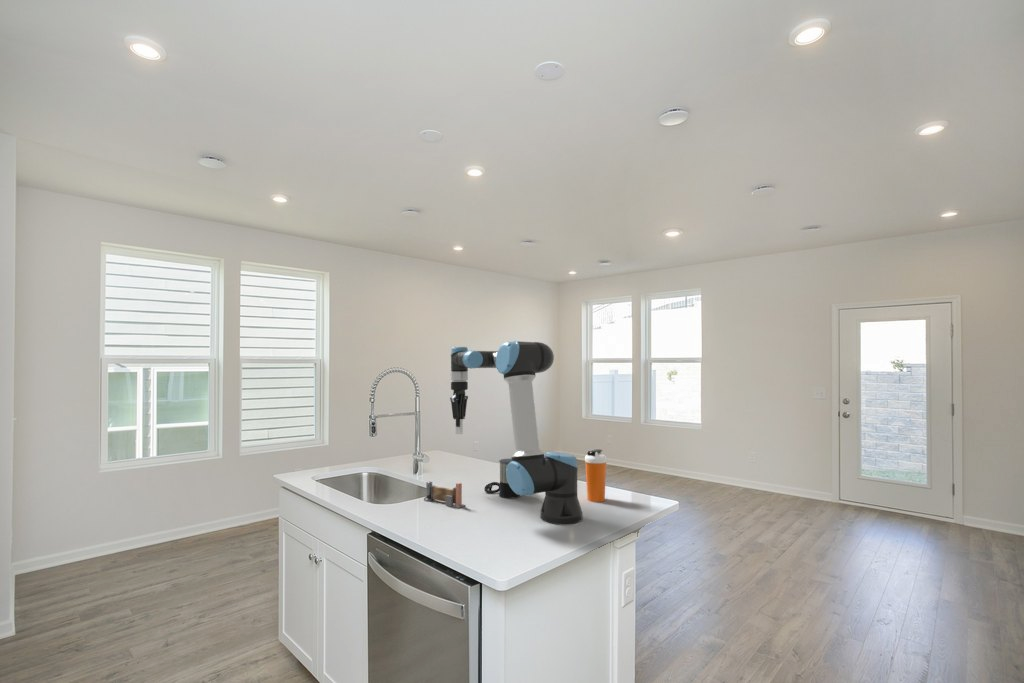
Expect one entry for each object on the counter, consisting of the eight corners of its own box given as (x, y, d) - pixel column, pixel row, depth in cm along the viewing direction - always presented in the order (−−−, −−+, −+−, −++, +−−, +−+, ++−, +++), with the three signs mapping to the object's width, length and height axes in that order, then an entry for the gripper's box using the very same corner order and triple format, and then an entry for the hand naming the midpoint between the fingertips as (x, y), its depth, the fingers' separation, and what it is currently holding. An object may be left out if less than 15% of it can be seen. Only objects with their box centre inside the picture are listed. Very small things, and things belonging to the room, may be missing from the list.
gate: (430, 498, 202) (430, 483, 203) (433, 497, 204) (434, 483, 204) (455, 504, 195) (456, 488, 195) (459, 503, 196) (459, 487, 196)
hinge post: (436, 499, 205) (436, 482, 205) (429, 501, 201) (429, 484, 201) (429, 497, 207) (429, 480, 207) (421, 499, 204) (421, 482, 204)
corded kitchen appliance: (520, 498, 206) (520, 462, 206) (482, 498, 206) (482, 462, 206) (520, 490, 220) (520, 456, 220) (485, 489, 220) (485, 456, 221)
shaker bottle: (610, 498, 205) (609, 450, 206) (602, 503, 198) (601, 453, 199) (590, 495, 210) (589, 448, 211) (581, 500, 203) (581, 451, 203)
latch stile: (465, 506, 195) (465, 483, 195) (458, 508, 191) (458, 485, 192) (452, 503, 199) (452, 480, 199) (445, 505, 195) (445, 482, 196)
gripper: (458, 380, 231) (458, 431, 230) (444, 381, 219) (444, 435, 218) (473, 380, 228) (473, 432, 227) (459, 381, 216) (459, 436, 215)
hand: (459, 433), depth 222 cm, fingers closed
